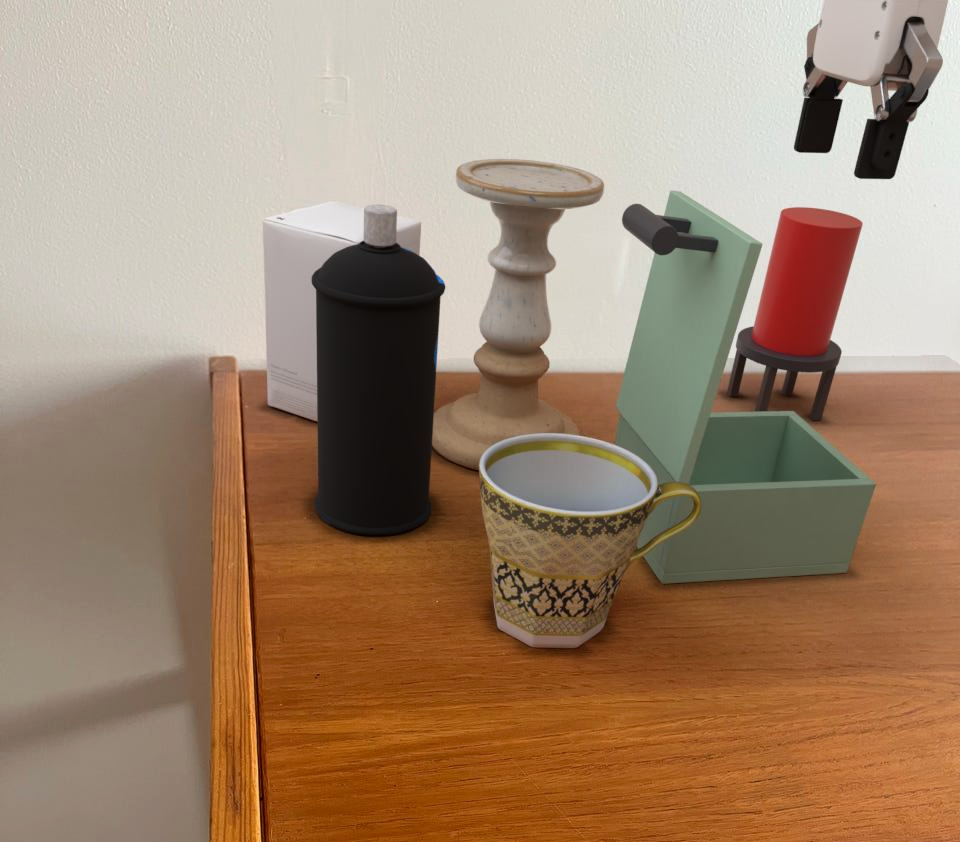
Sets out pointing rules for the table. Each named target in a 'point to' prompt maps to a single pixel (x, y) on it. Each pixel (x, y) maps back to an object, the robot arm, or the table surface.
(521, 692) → the table surface
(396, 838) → the table surface
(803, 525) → the green open box
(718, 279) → the lid
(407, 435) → the aerosol can
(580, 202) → the candle holder
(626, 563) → the ceramic cup
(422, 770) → the table surface
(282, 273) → the rectangular carton
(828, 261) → the can
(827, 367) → the stool
